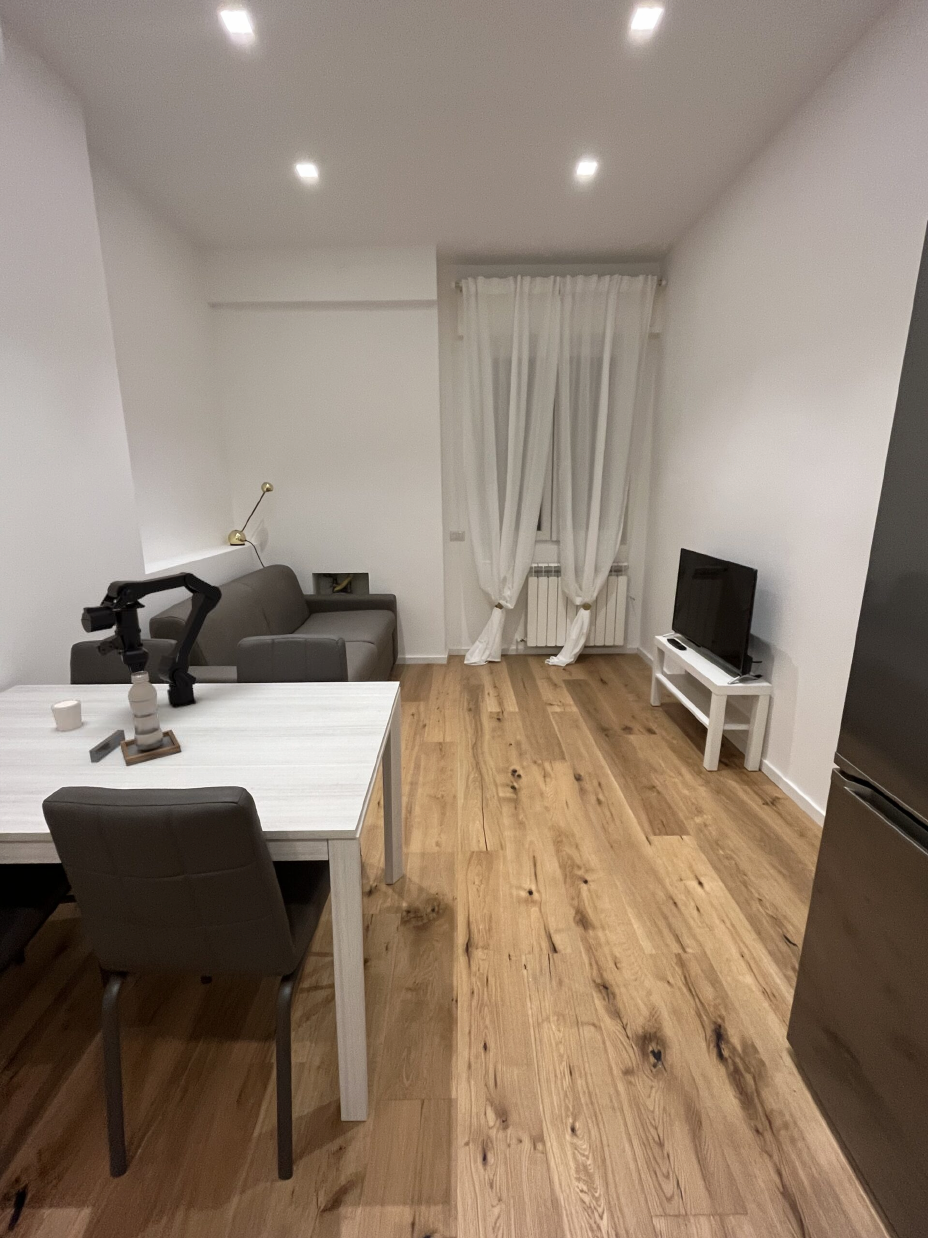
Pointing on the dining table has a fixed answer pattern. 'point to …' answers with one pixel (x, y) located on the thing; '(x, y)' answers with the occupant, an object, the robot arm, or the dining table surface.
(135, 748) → the wooden tray
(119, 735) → the bar
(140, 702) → the plastic bottle
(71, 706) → the white tapered cup
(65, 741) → the dining table surface
